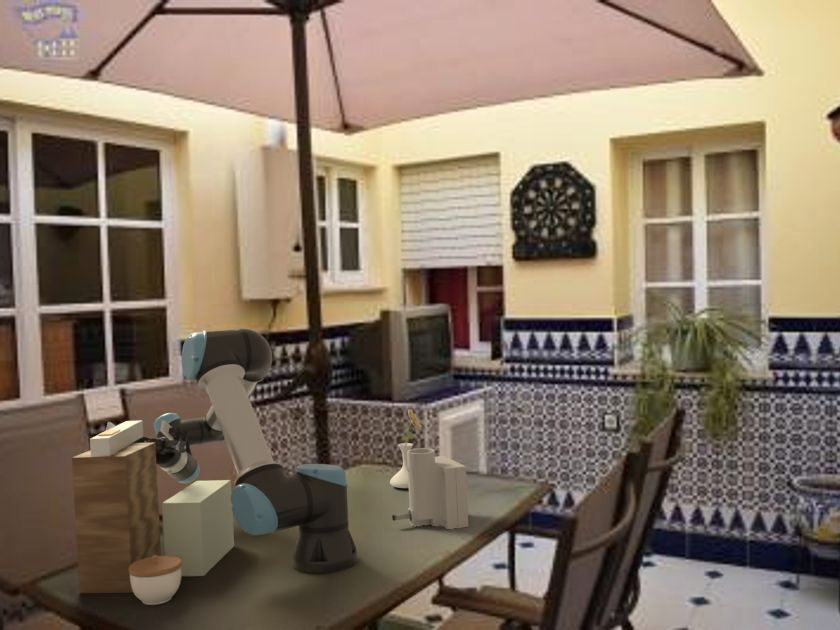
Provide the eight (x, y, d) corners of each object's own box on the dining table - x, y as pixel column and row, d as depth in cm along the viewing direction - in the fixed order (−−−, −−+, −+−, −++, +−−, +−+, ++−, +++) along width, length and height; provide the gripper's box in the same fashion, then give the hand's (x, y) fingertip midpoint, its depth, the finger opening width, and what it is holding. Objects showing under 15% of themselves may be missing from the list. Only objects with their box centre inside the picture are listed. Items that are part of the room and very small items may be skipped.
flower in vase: (412, 492, 256) (408, 413, 256) (383, 489, 263) (379, 412, 262) (434, 483, 267) (431, 407, 267) (405, 480, 274) (402, 406, 273)
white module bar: (127, 437, 203) (126, 419, 203) (143, 436, 203) (142, 419, 203) (91, 457, 178) (89, 437, 178) (109, 456, 178) (108, 436, 178)
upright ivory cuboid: (200, 546, 210) (196, 480, 209) (234, 545, 209) (230, 480, 208) (165, 576, 188) (162, 503, 187) (203, 575, 187) (199, 502, 186)
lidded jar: (153, 612, 166) (151, 567, 166) (119, 604, 172) (117, 559, 171) (194, 595, 175) (191, 551, 175) (160, 587, 181) (158, 545, 180)
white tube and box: (469, 526, 217) (466, 452, 216) (403, 536, 210) (399, 459, 210) (446, 512, 232) (443, 442, 232) (384, 521, 226) (381, 449, 225)
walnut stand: (110, 568, 195) (104, 443, 194) (161, 567, 194) (155, 442, 193) (76, 593, 179) (69, 457, 178) (132, 592, 178) (124, 456, 177)
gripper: (211, 467, 212) (182, 439, 193) (120, 469, 214) (82, 442, 196) (215, 439, 216) (187, 410, 197) (125, 442, 218) (88, 413, 199)
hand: (135, 426), depth 196 cm, fingers open, 13 cm apart
